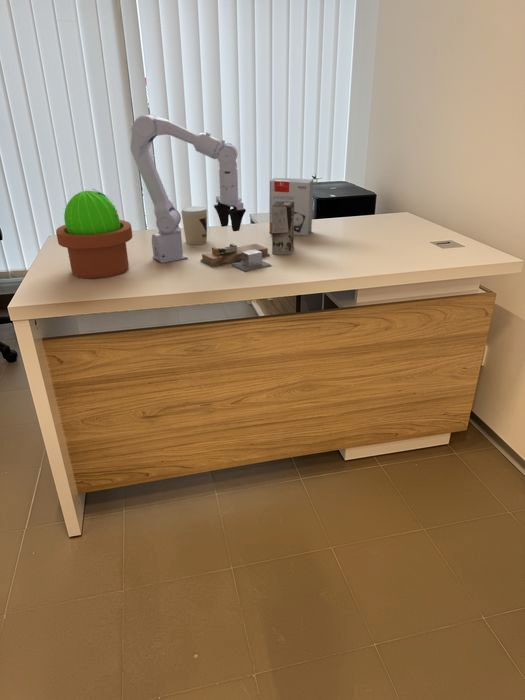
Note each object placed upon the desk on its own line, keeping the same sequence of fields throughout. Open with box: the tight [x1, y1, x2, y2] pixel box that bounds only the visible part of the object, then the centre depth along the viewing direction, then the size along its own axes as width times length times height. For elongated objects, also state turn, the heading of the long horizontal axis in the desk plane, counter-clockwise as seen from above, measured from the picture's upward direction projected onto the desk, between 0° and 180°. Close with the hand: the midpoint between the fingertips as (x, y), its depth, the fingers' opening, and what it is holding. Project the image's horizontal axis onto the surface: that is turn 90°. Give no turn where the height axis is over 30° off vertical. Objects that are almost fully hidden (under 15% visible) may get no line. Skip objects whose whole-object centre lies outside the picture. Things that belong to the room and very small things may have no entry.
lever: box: [218, 245, 237, 253], centre depth 168 cm, size 5×2×5 cm
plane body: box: [200, 243, 270, 268], centre depth 172 cm, size 22×8×5 cm, turn 123°
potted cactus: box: [55, 188, 133, 279], centre depth 158 cm, size 22×22×25 cm
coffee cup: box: [180, 205, 208, 245], centre depth 190 cm, size 9×9×12 cm
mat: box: [231, 260, 272, 273], centre depth 166 cm, size 10×8×1 cm
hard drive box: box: [269, 177, 314, 237], centre depth 198 cm, size 16×8×20 cm, turn 73°
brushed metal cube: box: [241, 249, 263, 267], centre depth 165 cm, size 5×4×4 cm
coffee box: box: [271, 201, 295, 256], centre depth 177 cm, size 9×6×16 cm
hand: (230, 228), depth 169 cm, fingers open, 7 cm apart
